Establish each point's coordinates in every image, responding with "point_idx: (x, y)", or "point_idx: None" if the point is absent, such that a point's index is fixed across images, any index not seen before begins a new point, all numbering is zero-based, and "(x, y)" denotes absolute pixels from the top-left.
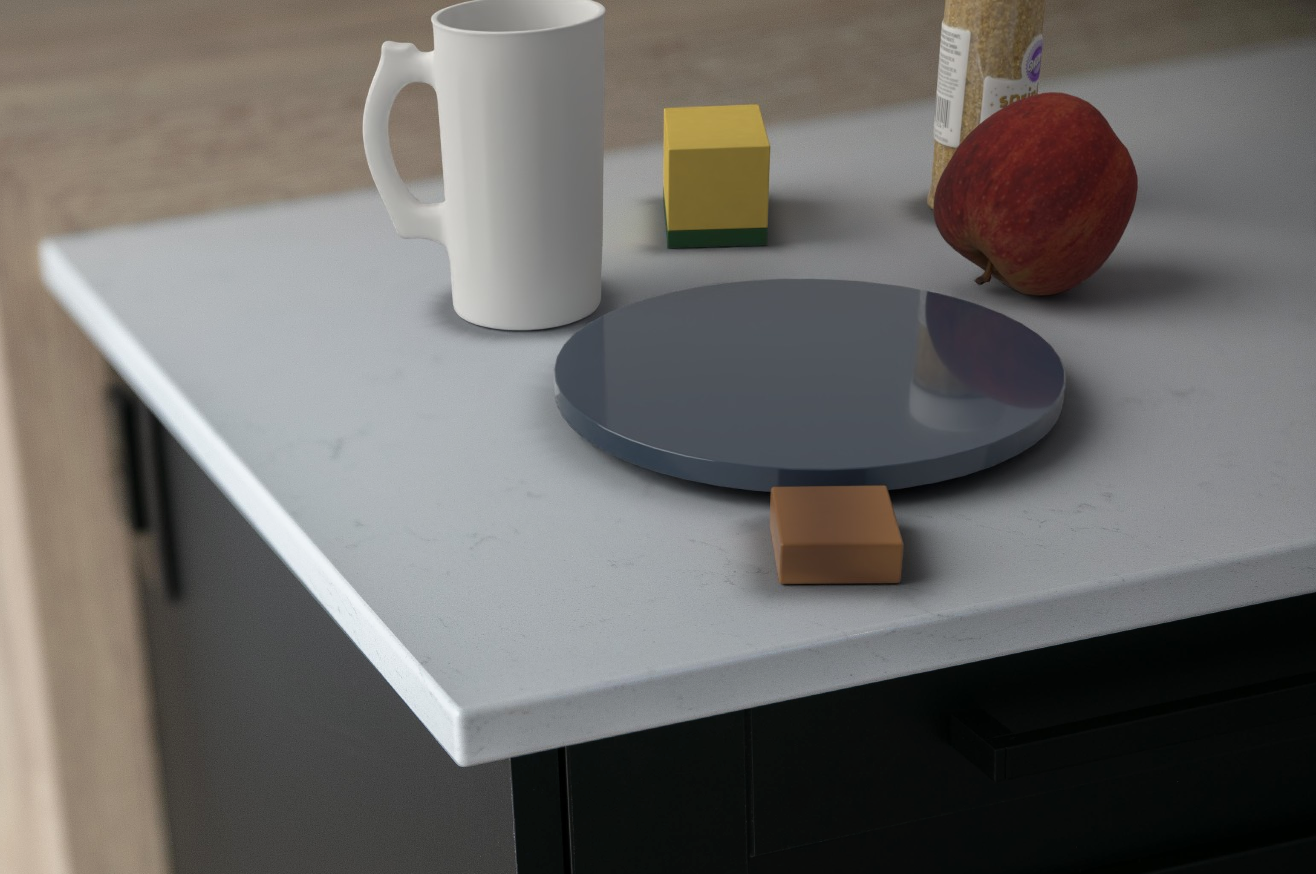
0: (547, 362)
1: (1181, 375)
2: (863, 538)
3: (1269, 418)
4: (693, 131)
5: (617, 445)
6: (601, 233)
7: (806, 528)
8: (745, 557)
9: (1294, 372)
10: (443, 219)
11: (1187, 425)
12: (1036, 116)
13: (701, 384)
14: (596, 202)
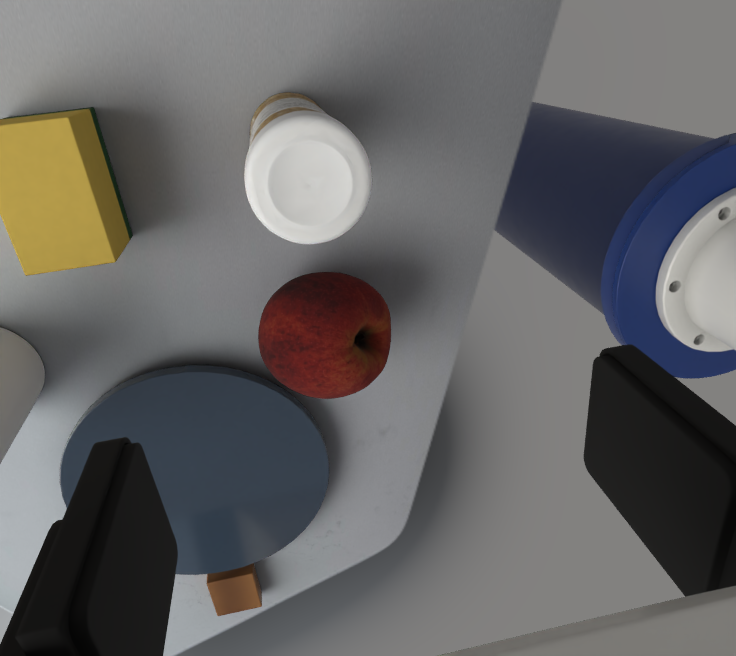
0: (45, 445)
1: (387, 412)
2: (247, 607)
3: (415, 450)
4: (29, 220)
5: None
6: (28, 394)
7: (225, 606)
8: (202, 588)
9: (439, 402)
10: None
11: (380, 462)
12: (325, 388)
13: None
14: (20, 421)
